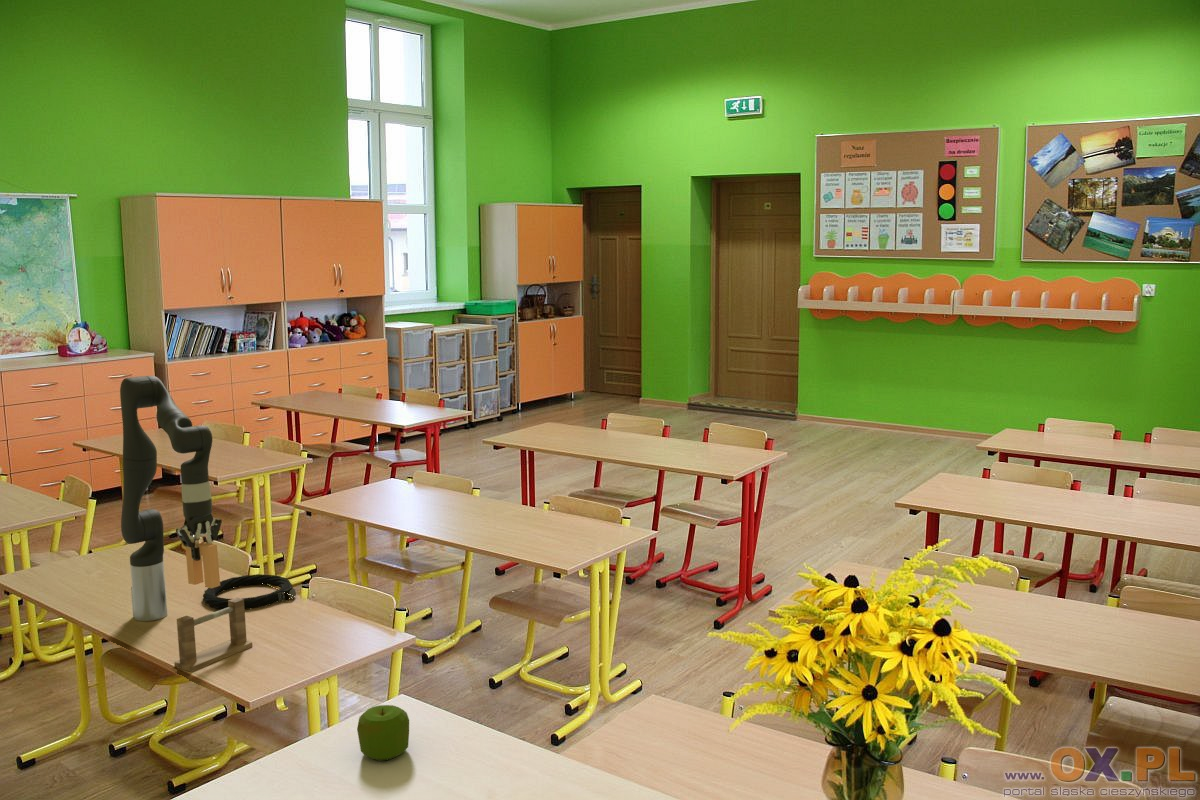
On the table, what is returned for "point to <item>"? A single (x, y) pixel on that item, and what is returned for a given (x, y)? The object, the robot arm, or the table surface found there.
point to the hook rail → (215, 653)
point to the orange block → (204, 565)
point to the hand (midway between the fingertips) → (201, 558)
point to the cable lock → (251, 602)
